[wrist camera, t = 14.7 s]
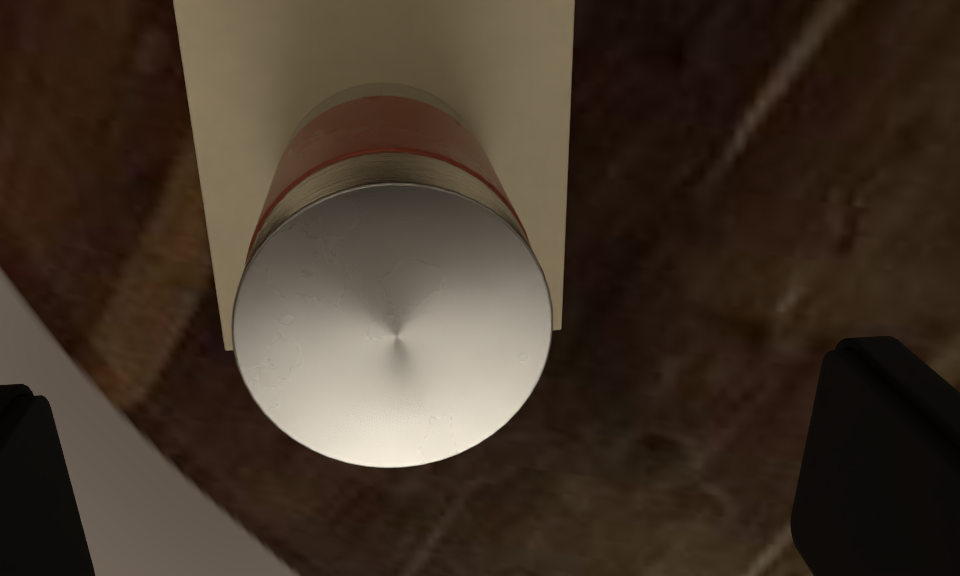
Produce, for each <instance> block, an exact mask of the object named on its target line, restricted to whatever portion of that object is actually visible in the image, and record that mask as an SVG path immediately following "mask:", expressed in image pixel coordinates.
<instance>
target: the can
mask: <svg viewBox="0 0 960 576" xmlns="http://www.w3.org/2000/svg"><path fill="white" fill-rule="evenodd" d="M231 331H232V346H233V350H234V355H235V359H236V364H237V367H238V369H239V372H240V374H241V377H242V380H243V382H244V384H245V386H246V388H247V389H248V391H249V393H250V395H251V397H252V398H253V400H254V401H255V402H256V404H257V405H258V406H259V408H260V409H261V410H262V412H263V413H264V414H265V415H266V416H267V417H268V418H269V419H270V420H271V421H272V422H273V423H274V424H275V425H276V426H277V427H278V428H279V429H280V430H281V431H283V432H284V433H285V434H287V435H288V436H289V437H290V438H292V439H293V440H295V441H296V442H298V443H300V444H301V445H303V446H305V447H306V448H308V449H310V450H312V451H314V452H317V453H319V454H321V455H323V456H326V457H328V458H331V459H335V460H338V461H341V462H344V463H349V464H354V465H359V466H364V467H376V468H404V467H412V466H419V465H425V464H429V463H433V462H437V461H441V460H444V459H447V458H449V457H452V456H455V455H458V454H460V453H462V452H464V451H466V450H468V449H470V448H472V447H474V446H476V445H478V444H479V443H481V442H482V441H484V440H486V439H487V438H489V437H490V436H492V435H493V434H494V433H496V432H497V431H498V430H499V429H500V428H502V427H503V426H504V425H505V424H507V423H508V422H509V421H510V419H511V418H512V417H513V416H514V415H515V414H516V413H517V412H518V411H519V410H520V409H521V408H522V406H523V405H524V404H525V402H526V401H527V400H528V398H529V397H530V396H531V394H532V392H533V390H534V389H535V387H536V385H537V383H538V381H539V380H540V378H541V375H542V373H543V370H544V368H545V365H546V363H547V359H548V355H549V351H550V347H551V343H552V334H553V307H552V301H551V296H550V290H549V287H548V284H547V281H546V278H545V275H544V272H543V270H542V268H541V266H540V264H539V262H538V260H537V258H536V256H535V254H534V252H533V250H532V248H531V245H530V243H529V240H528V237H527V234H526V231H525V229H524V227H523V225H522V223H521V221H520V219H519V217H518V215H517V213H516V211H515V209H514V207H513V205H512V203H511V202H510V200H509V198H508V196H507V194H506V192H505V190H504V188H503V186H502V184H501V182H500V180H499V178H498V176H497V174H496V173H495V171H494V169H493V167H492V165H491V163H490V161H489V159H488V157H487V155H486V153H485V151H484V150H483V148H482V147H481V145H480V144H479V142H478V141H477V140H476V138H475V136H474V134H473V132H472V131H471V129H470V128H469V127H468V125H467V124H466V122H465V121H464V120H463V119H462V118H461V117H460V116H459V114H458V113H457V112H456V111H455V110H453V109H452V108H451V107H450V106H449V105H447V104H446V103H445V102H443V101H442V100H440V99H439V98H437V97H435V96H434V95H432V94H430V93H427V92H425V91H423V90H421V89H418V88H414V87H411V86H408V85H402V84H396V83H380V82H379V83H368V84H362V85H358V86H354V87H350V88H347V89H345V90H342V91H340V92H337V93H335V94H334V95H332V96H330V97H328V98H326V99H325V100H323V101H322V102H321V103H319V104H318V105H317V106H315V107H314V108H313V109H312V110H311V111H310V112H309V113H308V114H307V115H306V116H305V117H304V118H303V119H302V121H301V122H300V123H299V125H298V126H297V127H296V129H295V131H294V132H293V134H292V136H291V138H290V139H289V142H288V144H287V147H286V149H285V152H284V154H283V155H282V157H281V159H280V161H279V164H278V166H277V169H276V171H275V174H274V177H273V180H272V183H271V185H270V188H269V191H268V194H267V197H266V200H265V202H264V205H263V208H262V211H261V214H260V217H259V219H258V222H257V225H256V228H255V231H254V233H253V236H252V239H251V242H250V245H249V249H248V253H247V258H246V262H245V268H244V271H243V273H242V276H241V279H240V282H239V285H238V288H237V292H236V296H235V300H234V305H233V311H232V323H231Z"/></svg>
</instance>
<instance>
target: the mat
mask: <svg viewBox="0 0 960 576" xmlns="http://www.w3.org/2000/svg"><path fill="white" fill-rule="evenodd" d="M173 4H174V10H175V17H176V24H177V30H178V37H179V44H180V51H181V57H182V64H183V71H184V78H185V84H186V91H187V98H188V104H189V111H190V118H191V125H192V131H193V138H194V145H195V151H196V158H197V165H198V172H199V178H200V185H201V192H202V199H203V205H204V212H205V219H206V225H207V232H208V239H209V246H210V252H211V259H212V266H213V272H214V279H215V286H216V293H217V299H218V306H219V313H220V320H221V326H222V333H223V340H224V346H225V350H226V351H229V350H233V346H232V331H231V323H232V311H233V305H234V300H235V296H236V292H237V288H238V285H239V282H240V279H241V276H242V273H243V271H244V268H245V262H246V258H247V253H248V249H249V245H250V242H251V239H252V236H253V233H254V231H255V228H256V225H257V222H258V219H259V217H260V214H261V211H262V208H263V205H264V202H265V200H266V197H267V194H268V191H269V188H270V185H271V183H272V180H273V177H274V174H275V171H276V169H277V166H278V164H279V161H280V159H281V157H282V155H283V154H284V152H285V149H286V147H287V144H288V142H289V139H290V138H291V136H292V134H293V132H294V131H295V129H296V127H297V126H298V125H299V123H300V122H301V121H302V119H303V118H304V117H305V116H306V115H307V114H308V113H309V112H310V111H311V110H312V109H313V108H314V107H315V106H317V105H318V104H319V103H321V102H322V101H323V100H325V99H326V98H328V97H330V96H332V95H334V94H335V93H337V92H340V91H342V90H345V89H347V88H350V87H354V86H358V85H362V84H368V83H379V82H380V83H396V84H402V85H408V86H411V87H414V88H418V89H421V90H423V91H425V92H427V93H430V94H432V95H434V96H435V97H437V98H439V99H440V100H442V101H443V102H445V103H446V104H447V105H449V106H450V107H451V108H452V109H453V110H455V111H456V112H457V113H458V114H459V116H460V117H461V118H462V119H463V120H464V121H465V122H466V124H467V125H468V127H469V128H470V129H471V131H472V132H473V134H474V136H475V138H476V140H477V141H478V142H479V144H480V145H481V147H482V148H483V150H484V151H485V153H486V155H487V157H488V159H489V161H490V163H491V165H492V167H493V169H494V171H495V173H496V174H497V176H498V178H499V180H500V182H501V184H502V186H503V188H504V190H505V192H506V194H507V196H508V198H509V200H510V202H511V203H512V205H513V207H514V209H515V211H516V213H517V215H518V217H519V219H520V221H521V223H522V225H523V227H524V229H525V231H526V234H527V237H528V240H529V243H530V245H531V248H532V250H533V252H534V254H535V256H536V258H537V260H538V262H539V264H540V266H541V268H542V270H543V272H544V275H545V278H546V281H547V284H548V287H549V290H550V296H551V301H552V307H553V330H560V329H561V326H562V301H563V277H564V252H565V228H566V204H567V179H568V155H569V131H570V106H571V82H572V58H573V33H574V9H575V0H173Z"/></svg>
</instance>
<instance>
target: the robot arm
mask: <svg viewBox="0 0 960 576" xmlns="http://www.w3.org/2000/svg"><path fill="white" fill-rule="evenodd" d="M791 533H792V538H793V541H794V544H795V546H796V548H797V550H798V551H799V553H800V554H801V556H802V558H803V559H804V561H805V562H806V564H807V565H808V567H809V569H810V570H811V572H812V573H813V575H814V576H960V393H959V392H958V391H957V390H956V389H955V388H953V387H952V386H951V385H950V384H949V383H948V382H946V381H945V380H944V379H943V378H942V377H941V376H939V375H938V374H937V373H936V372H935V371H933V370H932V369H931V368H930V367H929V366H928V365H926V364H925V363H924V362H923V361H922V360H921V359H919V358H918V357H917V356H916V355H915V354H913V353H912V352H911V351H910V350H909V349H908V348H906V347H905V346H904V345H903V344H902V343H901V342H899V341H898V340H897V339H895V338H893V337H891V336H879V337H861V338H845V339H843V340H841V341H840V342H839V343H838V345H837V346H836V349H835V350H832V351H829V352H827V354H826V355H825V357H824V359H823V362H822V367H821V372H820V376H819V381H818V386H817V391H816V396H815V401H814V406H813V411H812V416H811V421H810V426H809V431H808V436H807V441H806V446H805V451H804V455H803V460H802V465H801V470H800V475H799V480H798V485H797V490H796V495H795V500H794V505H793V510H792V515H791ZM0 576H95V573H94V568H93V564H92V560H91V557H90V553H89V549H88V545H87V541H86V538H85V534H84V530H83V526H82V523H81V519H80V515H79V512H78V508H77V504H76V500H75V496H74V493H73V489H72V485H71V481H70V478H69V474H68V470H67V466H66V463H65V459H64V455H63V451H62V448H61V444H60V440H59V436H58V433H57V429H56V425H55V421H54V418H53V414H52V410H51V407H50V404H49V402H48V400H47V399H46V398H45V397H44V396H42V395H40V396H34V395H33V393H32V391H31V390H30V388H29V387H28V386H26V385H24V384H12V385H0Z"/></svg>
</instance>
